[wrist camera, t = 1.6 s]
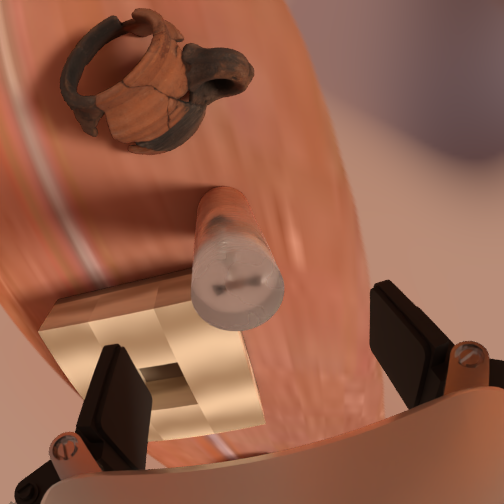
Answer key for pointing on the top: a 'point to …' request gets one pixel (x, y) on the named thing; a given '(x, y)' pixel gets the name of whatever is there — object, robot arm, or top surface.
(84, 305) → the bore block
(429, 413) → the robot arm
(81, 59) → the pottery mug
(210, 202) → the pin
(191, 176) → the top surface
